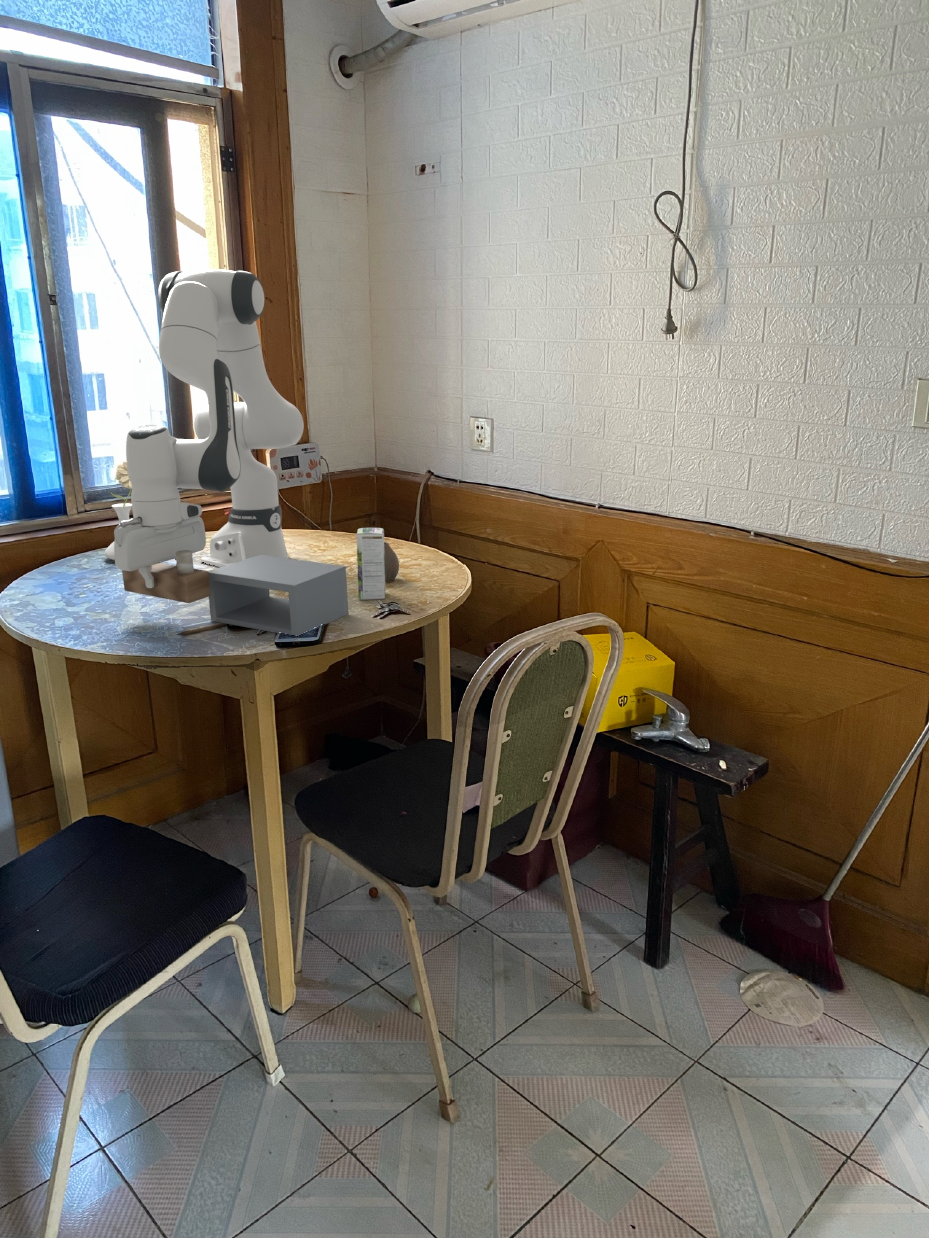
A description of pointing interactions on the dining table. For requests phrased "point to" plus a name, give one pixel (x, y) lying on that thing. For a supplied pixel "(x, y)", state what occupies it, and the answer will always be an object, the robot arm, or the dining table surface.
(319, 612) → the slate shelf
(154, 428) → the robot arm
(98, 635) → the dining table surface
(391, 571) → the vase
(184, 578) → the twin candle holder
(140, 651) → the dining table surface
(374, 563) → the syrup box
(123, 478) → the flower in vase
